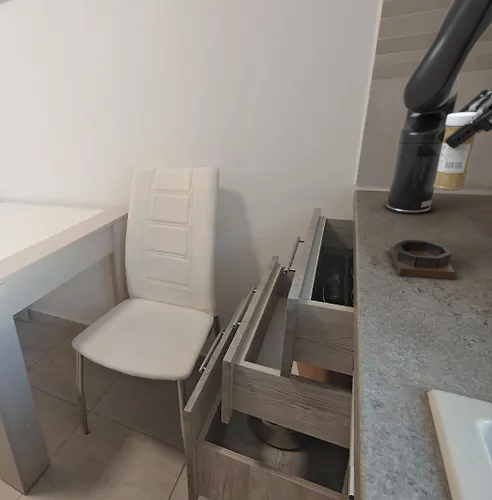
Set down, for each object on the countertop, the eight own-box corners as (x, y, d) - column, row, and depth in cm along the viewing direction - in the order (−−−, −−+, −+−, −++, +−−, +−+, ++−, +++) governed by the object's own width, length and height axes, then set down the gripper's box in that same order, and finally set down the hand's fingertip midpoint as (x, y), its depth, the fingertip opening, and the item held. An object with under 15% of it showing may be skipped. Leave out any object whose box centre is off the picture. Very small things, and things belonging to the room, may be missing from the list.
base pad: (389, 252, 76) (392, 236, 74) (437, 255, 73) (440, 239, 71) (399, 275, 67) (402, 258, 66) (453, 279, 64) (458, 261, 63)
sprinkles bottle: (467, 187, 69) (486, 111, 64) (457, 192, 67) (475, 114, 61) (438, 184, 72) (453, 111, 67) (428, 189, 70) (443, 114, 65)
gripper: (603, 77, 52) (473, 165, 61) (548, 75, 64) (445, 149, 73) (565, 40, 52) (440, 134, 61) (517, 45, 63) (418, 123, 73)
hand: (444, 142), depth 67 cm, fingers closed on sprinkles bottle, 4 cm apart
